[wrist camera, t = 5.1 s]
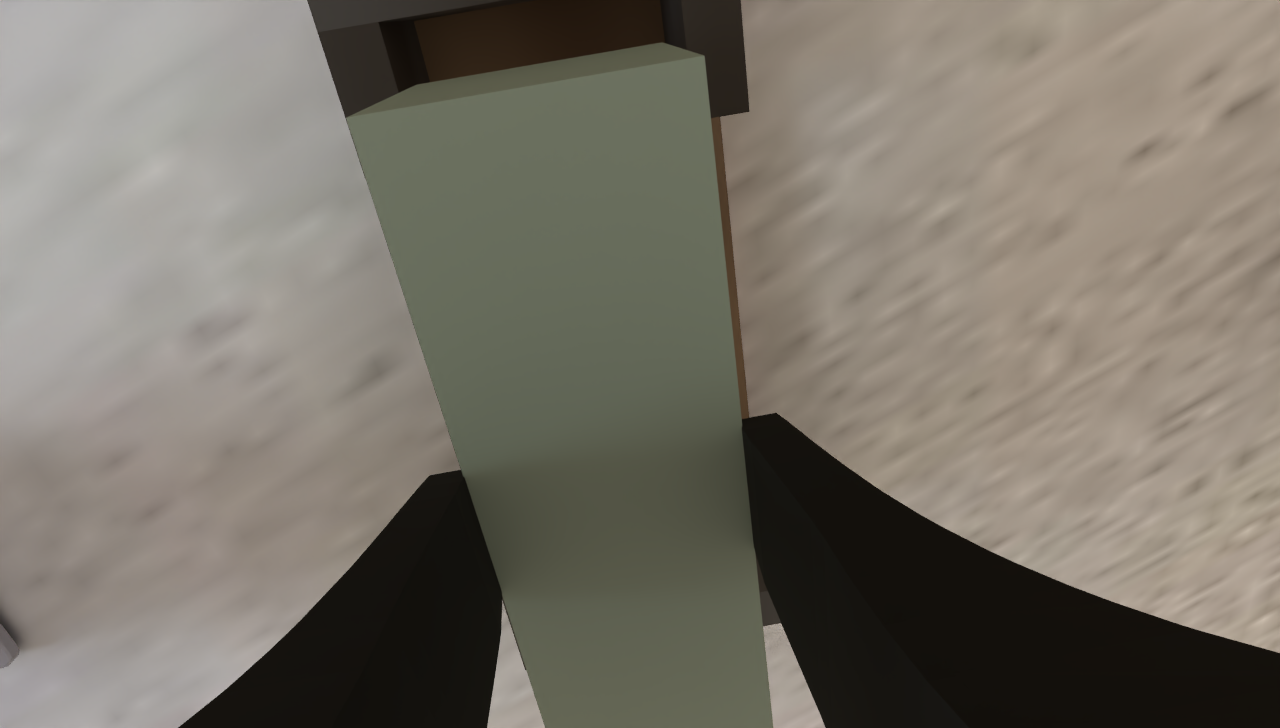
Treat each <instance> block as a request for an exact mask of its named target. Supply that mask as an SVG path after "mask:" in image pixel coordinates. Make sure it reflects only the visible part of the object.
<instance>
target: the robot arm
mask: <svg viewBox="0 0 1280 728" xmlns="http://www.w3.org/2000/svg"><path fill="white" fill-rule="evenodd" d="M742 437H743V447H744V456H745V466H746V476H747V485H748V495H749V505H750V515H751V524H752V534H753V544H754V549H755V553H756V556H757V560H758V563H759V566H760V570H761V573H762V576H763V580H764V583H765V586H766V588H767V590H768V593H769V595H770V598H771V600H772V602H773V605H774V607H775V609H776V612H777V614H778V616H779V619H780V621H781V624H782V626H783V628H784V631H785V633H786V635H787V638H788V640H789V642H790V645H791V647H792V649H793V652H794V654H795V656H796V659H797V661H798V663H799V666H800V668H801V670H802V673H803V675H804V677H805V680H806V682H807V684H808V687H809V689H810V691H811V694H812V696H813V698H814V701H815V703H816V705H817V708H818V710H819V712H820V715H821V717H822V720H823V722H824V725H825V727H826V728H1280V653H1277V652H1273V651H1270V650H1266V649H1263V648H1259V647H1256V646H1252V645H1248V644H1245V643H1241V642H1238V641H1234V640H1231V639H1227V638H1224V637H1220V636H1216V635H1213V634H1209V633H1206V632H1202V631H1199V630H1195V629H1192V628H1189V627H1185V626H1182V625H1179V624H1176V623H1173V622H1170V621H1167V620H1164V619H1161V618H1158V617H1155V616H1152V615H1149V614H1146V613H1144V612H1141V611H1138V610H1135V609H1132V608H1129V607H1126V606H1123V605H1120V604H1117V603H1114V602H1111V601H1109V600H1106V599H1103V598H1101V597H1098V596H1095V595H1093V594H1090V593H1087V592H1085V591H1082V590H1079V589H1077V588H1074V587H1071V586H1069V585H1066V584H1064V583H1062V582H1059V581H1057V580H1055V579H1052V578H1050V577H1047V576H1045V575H1043V574H1040V573H1038V572H1036V571H1033V570H1031V569H1028V568H1026V567H1024V566H1021V565H1019V564H1016V563H1014V562H1012V561H1010V560H1008V559H1006V558H1003V557H1001V556H999V555H997V554H995V553H992V552H990V551H988V550H986V549H984V548H982V547H980V546H978V545H976V544H974V543H972V542H970V541H968V540H967V539H965V538H963V537H961V536H959V535H957V534H955V533H953V532H951V531H949V530H947V529H945V528H943V527H941V526H939V525H938V524H936V523H934V522H932V521H930V520H929V519H927V518H925V517H923V516H921V515H920V514H918V513H916V512H915V511H913V510H911V509H910V508H908V507H907V506H905V505H903V504H902V503H900V502H898V501H897V500H895V499H894V498H892V497H890V496H889V495H887V494H885V493H884V492H882V491H881V490H879V489H878V488H876V487H875V486H873V485H872V484H870V483H869V482H868V481H866V480H865V479H863V478H862V477H860V476H859V475H858V474H856V473H855V472H853V471H852V470H850V469H849V468H848V467H846V466H845V465H843V464H842V463H841V462H839V461H838V460H837V459H835V458H834V457H833V456H831V455H830V454H829V453H827V452H826V451H825V450H823V449H822V448H821V447H820V446H818V445H817V444H816V443H814V442H813V441H812V440H811V439H809V438H808V437H807V436H805V435H804V434H803V433H802V432H800V431H799V430H798V429H797V428H795V427H794V426H793V425H792V424H790V423H789V422H788V421H786V420H785V419H784V418H782V417H781V416H780V415H778V414H777V413H773V414H768V415H762V416H757V417H751V418H745V419H742ZM501 618H502V591H501V587H500V584H499V581H498V578H497V575H496V572H495V569H494V566H493V563H492V560H491V557H490V554H489V551H488V548H487V545H486V541H485V538H484V535H483V532H482V529H481V526H480V523H479V520H478V517H477V514H476V511H475V508H474V505H473V502H472V499H471V495H470V492H469V489H468V486H467V483H466V480H465V477H463V474H462V471H461V470H457V471H452V472H446V473H441V474H435V475H430V476H429V477H428V478H427V479H426V480H425V481H424V482H423V483H422V484H421V486H420V487H419V488H418V489H417V490H416V491H415V493H414V494H413V495H412V496H411V497H410V498H409V500H408V501H407V502H406V503H405V504H404V506H403V507H402V508H401V509H400V510H399V512H398V513H397V514H396V515H395V516H394V518H393V519H392V520H391V521H390V522H389V524H388V525H387V526H386V527H385V528H384V529H383V531H382V532H381V533H380V534H379V535H378V536H377V538H376V539H375V540H374V541H373V542H372V543H371V545H370V546H369V547H368V548H367V549H366V550H365V552H364V553H363V554H362V555H361V556H360V557H359V559H358V560H357V561H356V562H355V563H354V564H353V565H352V567H351V568H350V569H349V570H348V571H347V572H346V573H345V574H344V575H343V576H342V577H341V578H340V579H339V580H338V581H337V583H336V584H335V585H334V586H333V587H332V588H331V589H330V590H329V591H328V592H327V593H326V594H325V595H324V596H323V597H322V598H321V599H320V601H319V602H318V603H317V604H316V605H315V606H314V607H313V608H312V609H311V610H310V611H309V612H308V613H307V614H306V615H305V616H304V617H303V619H302V620H301V621H300V622H299V623H298V624H297V625H296V626H295V627H294V628H292V629H291V630H290V631H289V632H288V633H287V634H286V635H285V636H284V637H283V638H282V639H281V640H280V641H279V642H278V643H277V644H276V645H275V646H274V647H273V648H272V649H271V650H270V651H268V652H267V653H266V654H265V655H264V656H263V657H262V658H261V659H260V660H258V661H257V662H256V663H255V664H254V665H253V666H252V667H251V668H249V669H248V670H247V671H246V672H245V673H244V674H243V675H242V676H241V677H239V678H238V679H237V680H236V681H235V682H234V683H233V684H232V685H230V686H229V687H228V688H227V689H226V690H225V691H223V692H222V693H221V694H220V695H219V696H217V697H216V698H215V699H214V700H212V701H211V702H210V703H209V704H207V705H206V706H205V707H204V708H202V709H201V710H200V711H199V712H197V713H196V714H195V715H194V716H192V717H191V718H190V719H189V720H187V721H186V722H185V723H184V724H182V725H181V726H180V727H179V728H487V723H488V717H489V710H490V704H491V697H492V691H493V684H494V678H495V671H496V664H497V657H498V651H499V643H500V636H501ZM18 654H19V648H18V646H17V644H16V643H15V641H14V640H13V639H12V638H11V636H10V635H9V634H8V632H7V631H6V630H5V629H4V627H3V626H2V625H1V623H0V668H4V667H6V666H9V665H10V664H11V663H12V661H13V660H14V659H15V658H16V657H17V656H18Z"/></svg>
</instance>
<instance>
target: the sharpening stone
mask: <svg viewBox="0 0 1280 728" xmlns="http://www.w3.org/2000/svg"><path fill="white" fill-rule="evenodd" d="M346 120H347V123H348V126H349V129H350V132H351V135H352V138H353V141H354V144H355V147H356V150H357V153H358V156H359V159H360V162H361V165H362V169H363V172H364V175H365V178H366V181H367V184H368V187H369V190H370V193H371V196H372V199H373V202H374V205H375V208H376V211H377V214H378V217H379V221H380V224H381V227H382V230H383V233H384V236H385V239H386V242H387V245H388V248H389V251H390V254H391V257H392V260H393V263H394V266H395V269H396V273H397V276H398V279H399V282H400V285H401V288H402V291H403V294H404V297H405V300H406V303H407V306H408V309H409V312H410V315H411V318H412V321H413V325H414V328H415V331H416V334H417V337H418V340H419V343H420V346H421V349H422V352H423V355H424V358H425V361H426V364H427V367H428V370H429V373H430V376H431V380H432V383H433V386H434V389H435V392H436V395H437V398H438V401H439V404H440V407H441V410H442V413H443V416H444V419H445V422H446V425H447V428H448V432H449V435H450V438H451V441H452V444H453V447H454V450H455V453H456V456H457V459H458V462H459V465H460V468H461V471H462V474H463V477H465V480H466V483H467V486H468V489H469V492H470V495H471V499H472V502H473V505H474V508H475V511H476V514H477V517H478V520H479V523H480V526H481V529H482V532H483V535H484V538H485V541H486V545H487V548H488V551H489V554H490V557H491V560H492V563H493V566H494V569H495V572H496V575H497V578H498V581H499V584H500V587H501V591H502V597H503V600H504V603H505V606H506V609H507V612H508V615H509V618H510V621H511V624H512V627H513V630H514V633H515V636H516V639H517V643H518V646H519V649H520V652H521V655H522V658H523V661H524V664H525V667H526V670H527V673H528V676H529V679H530V682H531V685H532V688H533V691H534V695H535V698H536V701H537V704H538V707H539V710H540V713H541V716H542V719H543V722H544V725H545V728H773V721H772V711H771V701H770V691H769V682H768V672H767V662H766V652H765V642H764V633H763V623H762V613H761V603H760V594H759V584H758V574H757V564H756V554H755V549H754V544H753V534H752V524H751V515H750V505H749V495H748V485H747V476H746V466H745V456H744V447H743V437H742V418H741V408H740V398H739V388H738V378H737V369H736V359H735V349H734V339H733V330H732V320H731V310H730V300H729V290H728V281H727V271H726V261H725V251H724V241H723V232H722V222H721V212H720V202H719V193H718V183H717V173H716V163H715V153H714V144H713V134H712V124H711V114H710V105H709V95H708V85H707V75H706V65H705V56H704V55H701V54H698V53H694V52H691V51H688V50H685V49H682V48H679V47H675V46H672V45H669V44H666V43H663V42H661V43H655V44H649V45H644V46H638V47H632V48H626V49H620V50H615V51H609V52H603V53H597V54H592V55H586V56H580V57H574V58H568V59H563V60H557V61H551V62H545V63H539V64H534V65H528V66H522V67H516V68H510V69H505V70H499V71H493V72H487V73H482V74H476V75H470V76H464V77H458V78H453V79H447V80H441V81H435V82H429V83H424V84H418V85H415V86H413V87H410V88H408V89H406V90H404V91H402V92H400V93H398V94H395V95H393V96H391V97H389V98H387V99H385V100H383V101H381V102H378V103H376V104H374V105H372V106H370V107H368V108H366V109H363V110H361V111H359V112H357V113H355V114H353V115H351V116H349V117H346Z"/></svg>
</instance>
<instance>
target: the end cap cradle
mask: <svg viewBox="0 0 1280 728" xmlns="http://www.w3.org/2000/svg"><path fill="white" fill-rule="evenodd" d="M307 1H308V4H309V7H310V10H311V13H312V16H313V19H314V22H315V25H316V28H317V32H318V35H319V38H320V41H321V44H322V47H323V50H324V53H325V56H326V59H327V62H328V65H329V68H330V71H331V75H332V78H333V81H334V84H335V87H336V90H337V93H338V96H339V99H340V102H341V105H342V108H343V111H344V114H345V118H346V117H349V116H351V115H353V114H355V113H357V112H359V111H361V110H363V109H366V108H368V107H370V106H372V105H374V104H376V103H378V102H381V101H383V100H385V99H387V98H389V97H391V96H393V95H395V94H398V93H400V92H402V91H404V90H406V89H408V88H410V87H413V86H415V85H418V84H424V83H429V82H435V81H441V80H447V79H453V78H458V77H464V76H470V75H476V74H482V73H487V72H493V71H499V70H505V69H510V68H516V67H522V66H528V65H534V64H539V63H545V62H551V61H557V60H563V59H568V58H574V57H580V56H586V55H592V54H597V53H603V52H609V51H615V50H620V49H626V48H632V47H638V46H644V45H649V44H655V43H661V42H663V43H666V44H669V45H672V46H675V47H679V48H682V49H685V50H688V51H691V52H694V53H698V54H701V55H704V56H705V65H706V75H707V85H708V95H709V105H710V114H711V124H712V134H713V144H714V153H715V163H716V173H717V183H718V193H719V202H720V212H721V222H722V232H723V241H724V251H725V261H726V271H727V281H728V290H729V300H730V310H731V320H732V330H733V339H734V349H735V359H736V369H737V378H738V388H739V398H740V408H741V418H742V419H745V418H749V411H748V401H747V391H746V380H745V370H744V360H743V350H742V339H741V329H740V319H739V308H738V298H737V288H736V278H735V267H734V257H733V247H732V236H731V226H730V216H729V206H728V195H727V185H726V175H725V164H724V154H723V144H722V134H721V123H720V117H721V116H727V115H732V114H738V113H744V112H749V101H748V89H747V76H746V64H745V51H744V38H743V26H742V13H741V0H307ZM346 121H347V120H346ZM347 124H348V123H347ZM348 127H349V126H348ZM349 130H350V129H349ZM350 133H351V132H350ZM351 136H352V135H351ZM352 139H353V138H352ZM353 142H354V141H353ZM354 145H355V144H354ZM355 148H356V147H355ZM356 151H357V150H356ZM357 154H358V153H357ZM358 157H359V156H358ZM359 161H360V159H359ZM360 164H361V162H360ZM361 167H362V165H361ZM362 170H363V169H362ZM363 173H364V172H363ZM364 176H365V175H364ZM755 554H756V553H755ZM756 564H757V574H758V584H759V594H760V603H761V613H762V623H763V626H767V625H772V624H778V623H781V621H780V619H779V616H778V614H777V612H776V609H775V607H774V605H773V602H772V600H771V598H770V595H769V593H768V590H767V588H766V586H765V583H764V580H763V576H762V573H761V570H760V566H759V563H758V560H757V556H756ZM502 600H503V597H502ZM503 603H504V600H503ZM504 606H505V603H504ZM505 609H506V606H505ZM506 612H507V609H506ZM507 615H508V612H507ZM508 618H509V615H508ZM509 621H510V618H509ZM510 624H511V621H510ZM511 627H512V624H511ZM512 630H513V627H512ZM513 634H514V637H515V640H516V643H517V639H516V636H515V633H514V630H513ZM517 646H518V643H517ZM518 649H519V646H518ZM519 652H520V649H519ZM520 655H521V652H520ZM521 658H522V655H521ZM522 661H523V658H522ZM523 664H524V661H523ZM524 667H525V664H524ZM525 670H526V667H525Z"/></svg>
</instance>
